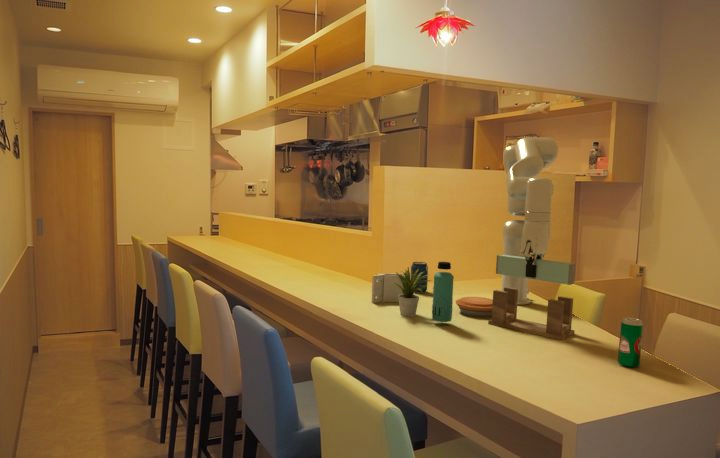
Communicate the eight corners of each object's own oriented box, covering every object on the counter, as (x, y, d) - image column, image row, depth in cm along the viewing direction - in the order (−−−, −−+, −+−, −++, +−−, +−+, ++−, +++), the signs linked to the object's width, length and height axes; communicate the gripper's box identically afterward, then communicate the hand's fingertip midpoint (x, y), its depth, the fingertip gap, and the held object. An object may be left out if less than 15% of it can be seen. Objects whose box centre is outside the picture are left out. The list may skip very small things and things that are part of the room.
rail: (500, 272, 181) (501, 254, 181) (574, 283, 166) (575, 263, 165) (495, 273, 179) (496, 255, 178) (569, 284, 163) (571, 264, 162)
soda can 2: (613, 362, 143) (617, 316, 142) (632, 362, 143) (635, 316, 142) (624, 368, 138) (628, 321, 137) (643, 368, 138) (647, 321, 137)
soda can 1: (429, 291, 227) (431, 262, 226) (422, 294, 221) (423, 264, 220) (414, 289, 231) (415, 261, 230) (407, 291, 225) (408, 262, 224)
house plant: (416, 322, 175) (419, 272, 174) (379, 316, 183) (381, 267, 181) (435, 314, 187) (437, 267, 186) (399, 308, 195) (401, 262, 193)
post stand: (502, 318, 185) (504, 286, 184) (574, 333, 169) (576, 298, 169) (488, 323, 178) (490, 290, 177) (561, 339, 162) (564, 303, 161)
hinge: (372, 303, 202) (373, 275, 201) (367, 300, 207) (368, 273, 206) (407, 302, 206) (408, 275, 205) (402, 299, 211) (403, 273, 210)
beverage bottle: (453, 322, 177) (456, 261, 175) (449, 327, 171) (453, 264, 169) (433, 320, 179) (436, 259, 178) (429, 325, 173) (432, 262, 171)
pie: (501, 320, 183) (502, 305, 183) (454, 316, 186) (455, 301, 186) (499, 310, 198) (500, 296, 198) (455, 306, 202) (456, 293, 201)
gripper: (536, 216, 179) (533, 272, 181) (513, 217, 167) (510, 277, 168) (559, 218, 174) (555, 275, 176) (537, 219, 162) (533, 281, 163)
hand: (533, 275), depth 172 cm, fingers closed on rail, 3 cm apart
